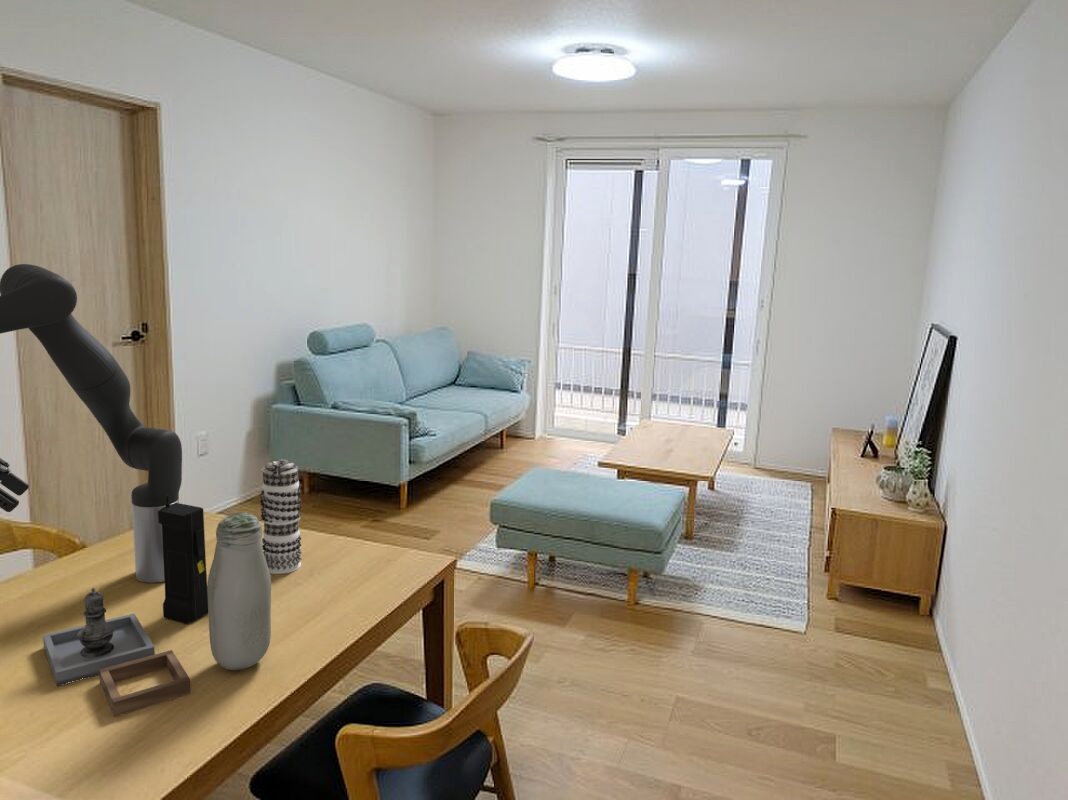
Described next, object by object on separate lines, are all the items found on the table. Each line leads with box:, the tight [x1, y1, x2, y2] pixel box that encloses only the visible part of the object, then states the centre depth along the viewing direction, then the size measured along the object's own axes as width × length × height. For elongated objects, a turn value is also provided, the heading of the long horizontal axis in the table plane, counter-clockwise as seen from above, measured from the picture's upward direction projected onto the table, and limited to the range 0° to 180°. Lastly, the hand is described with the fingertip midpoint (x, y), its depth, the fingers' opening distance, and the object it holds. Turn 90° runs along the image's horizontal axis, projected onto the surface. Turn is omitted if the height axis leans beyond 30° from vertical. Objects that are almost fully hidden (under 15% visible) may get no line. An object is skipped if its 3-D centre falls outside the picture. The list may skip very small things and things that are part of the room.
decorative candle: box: [259, 459, 303, 575], centre depth 176 cm, size 9×9×25 cm
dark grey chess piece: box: [77, 587, 115, 658], centre depth 137 cm, size 6×6×12 cm
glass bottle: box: [207, 512, 272, 671], centre depth 134 cm, size 10×10×28 cm
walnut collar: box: [98, 649, 192, 718], centre depth 128 cm, size 11×11×2 cm
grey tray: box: [42, 613, 155, 687], centre depth 138 cm, size 15×15×2 cm
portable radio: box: [158, 495, 208, 625], centre depth 151 cm, size 8×6×25 cm
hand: (20, 499), depth 127 cm, fingers open, 8 cm apart
